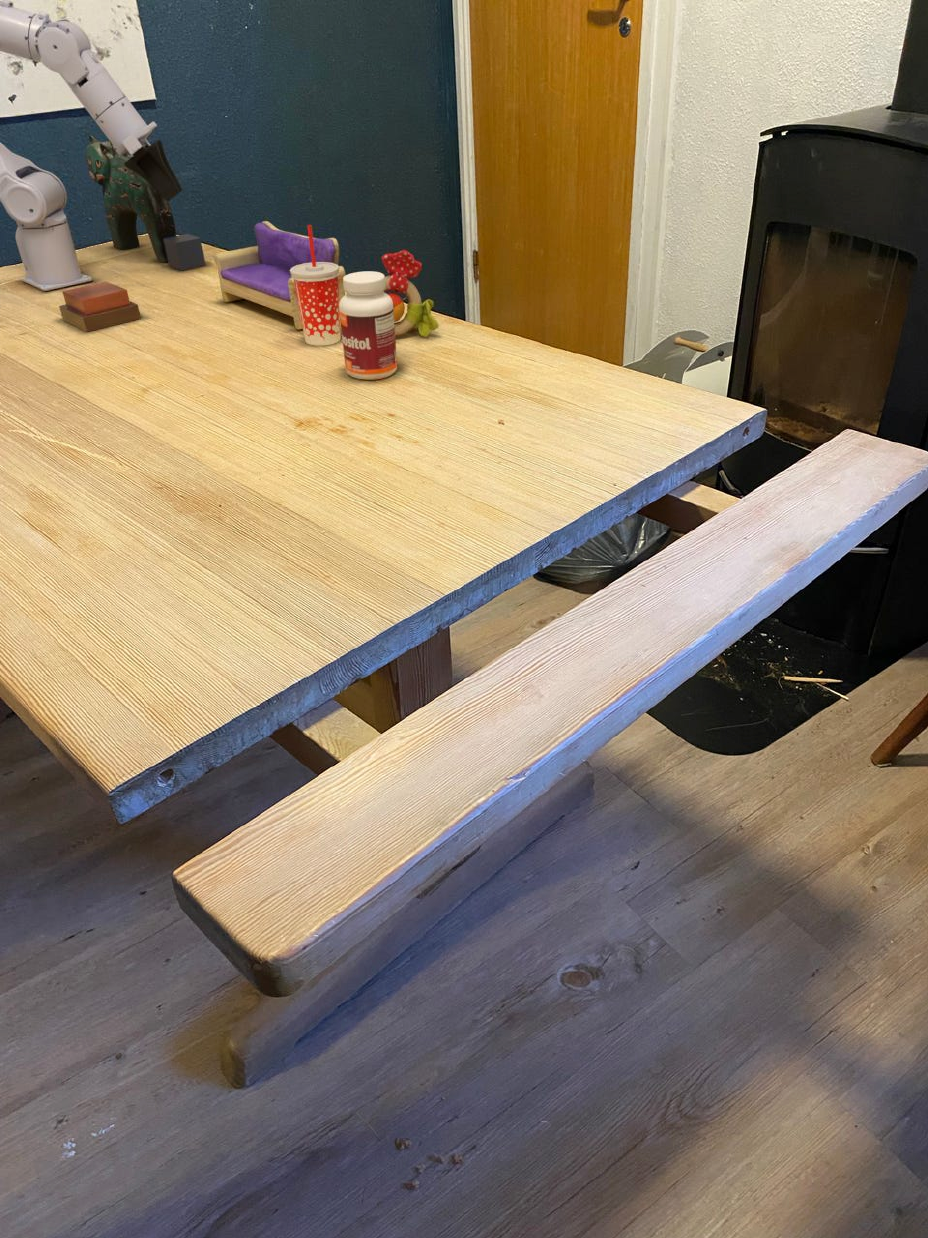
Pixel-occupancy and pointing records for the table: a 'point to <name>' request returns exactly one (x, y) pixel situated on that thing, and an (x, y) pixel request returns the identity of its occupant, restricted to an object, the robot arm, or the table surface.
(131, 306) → the stack
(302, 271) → the beverage cup
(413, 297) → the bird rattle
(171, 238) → the cube
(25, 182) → the robot arm
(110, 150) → the green animal figurine
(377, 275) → the pill bottle
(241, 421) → the table surface
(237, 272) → the toy sofa
